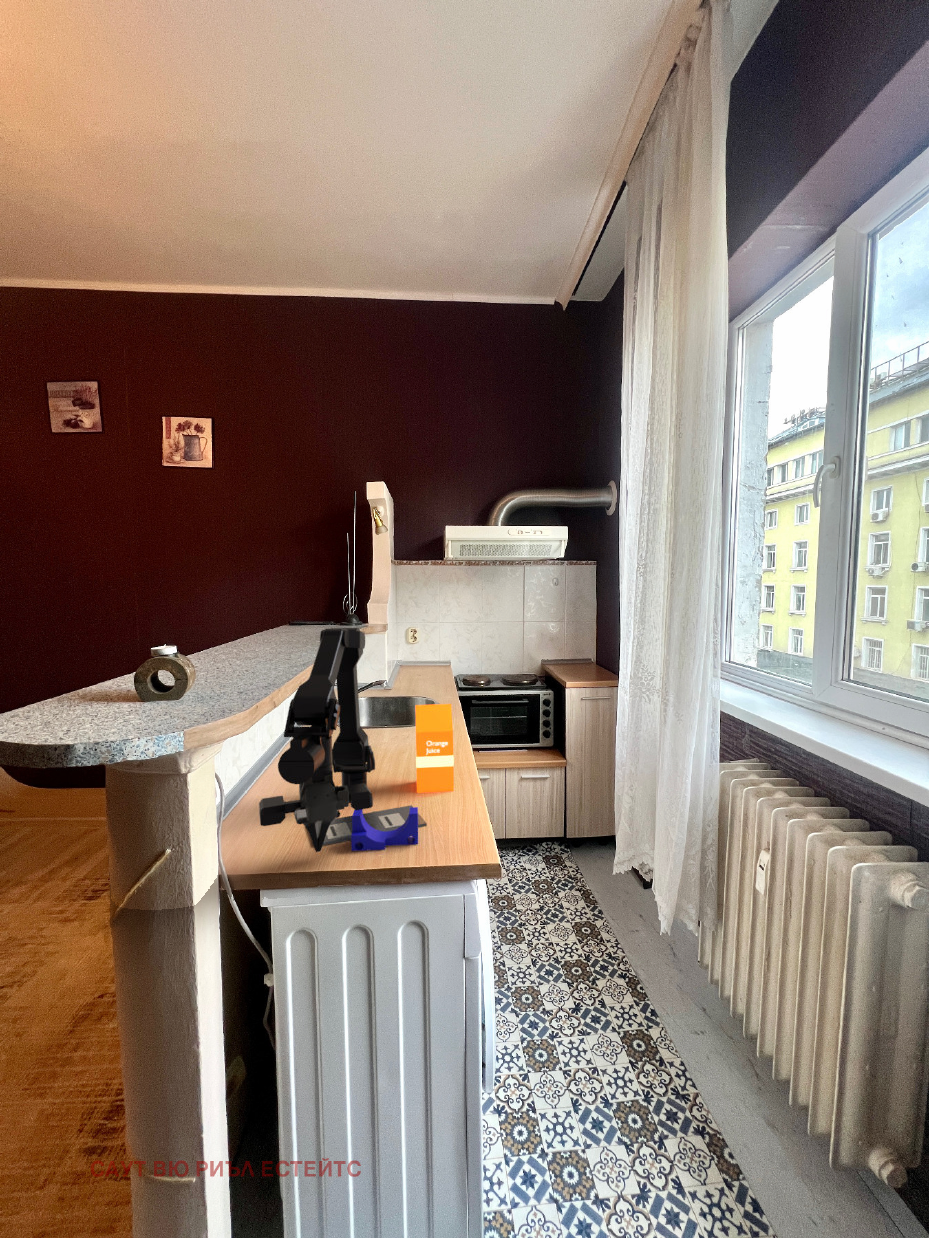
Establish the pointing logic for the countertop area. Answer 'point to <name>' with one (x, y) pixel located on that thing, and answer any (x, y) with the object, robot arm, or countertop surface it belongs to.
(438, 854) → the countertop surface
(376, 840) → the blue cradle bracket
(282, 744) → the countertop surface
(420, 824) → the plate
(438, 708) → the orange juice
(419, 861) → the countertop surface
